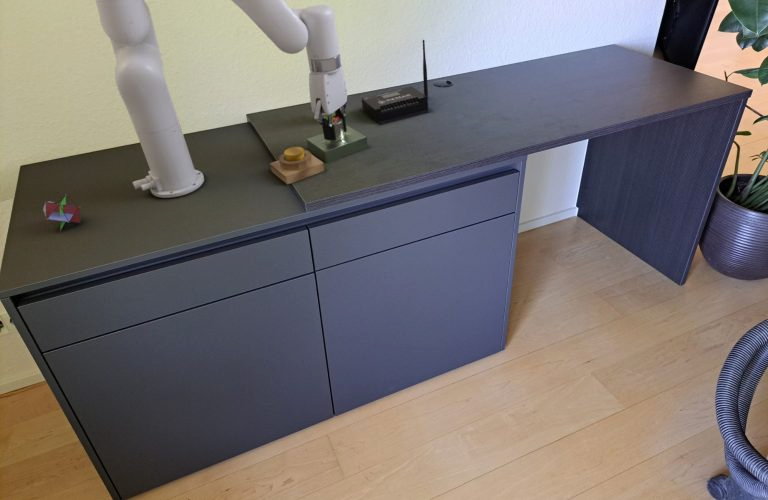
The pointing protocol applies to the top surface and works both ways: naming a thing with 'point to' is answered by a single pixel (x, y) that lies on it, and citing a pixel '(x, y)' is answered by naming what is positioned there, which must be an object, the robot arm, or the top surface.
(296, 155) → the round yellow button
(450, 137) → the top surface
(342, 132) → the dial
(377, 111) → the wireless controller
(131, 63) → the robot arm
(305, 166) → the button housing
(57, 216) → the geometric puzzle
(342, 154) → the dial panel
